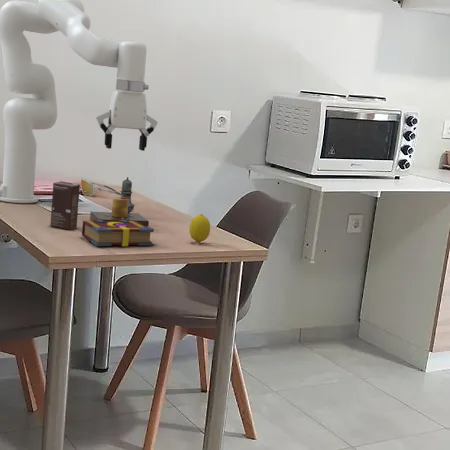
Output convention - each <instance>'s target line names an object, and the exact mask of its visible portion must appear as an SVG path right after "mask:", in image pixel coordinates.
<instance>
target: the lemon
mask: <svg viewBox="0 0 450 450" xmlns="http://www.w3.org/2000/svg"><path fill="white" fill-rule="evenodd" d="M188 232H189V235H190V237H191V239H192V240H193V241H195V242H196V243H197V244H201V242H203V241H206V240H207V239H208V238H209V236H210V233H211V222H210V220H209V218H208V217H206V216H205V215H204V214H203V213H199V215H196V216H194V217H193V218H192V219H191V221H190V224H189V231H188Z"/></svg>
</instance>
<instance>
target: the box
mask: <svg viewBox="0 0 450 450" xmlns="http://www.w3.org/2000/svg"><path fill="white" fill-rule="evenodd" d="M80 185H81V184H79V183H73V182H67V181H56V182H53V184H52V196H51V197H52V199H51V211H50V212H51V213H50V227H54V228H60V229H64V230H75V229H76V228H78V216H79V215H78V213H79V204H80V203H79V202H80V192H81V191H80Z"/></svg>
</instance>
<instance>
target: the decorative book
mask: <svg viewBox="0 0 450 450" xmlns="http://www.w3.org/2000/svg"><path fill="white" fill-rule="evenodd" d="M81 229H82V230H81V237H83V238H85V239H86V240H87V241H90V242H91V244H92V245H94V246H96V247H112V246H121V247H129V246H136V245H137V246H153V241H151V233H154V229H153V228H152V227H150V226H149V225H148V226H147V227H146V226H144V225H142V224H140V223H138V222H136V221H126V220H117V221H103V220H94V221H90V220H82V228H81Z"/></svg>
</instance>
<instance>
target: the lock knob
mask: <svg viewBox="0 0 450 450" xmlns="http://www.w3.org/2000/svg"><path fill="white" fill-rule="evenodd" d="M128 203H129V198H126V197H121V196H114V197H112V205H111V212H112V216H114V217H121V218H124V217H127V214H128Z"/></svg>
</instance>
